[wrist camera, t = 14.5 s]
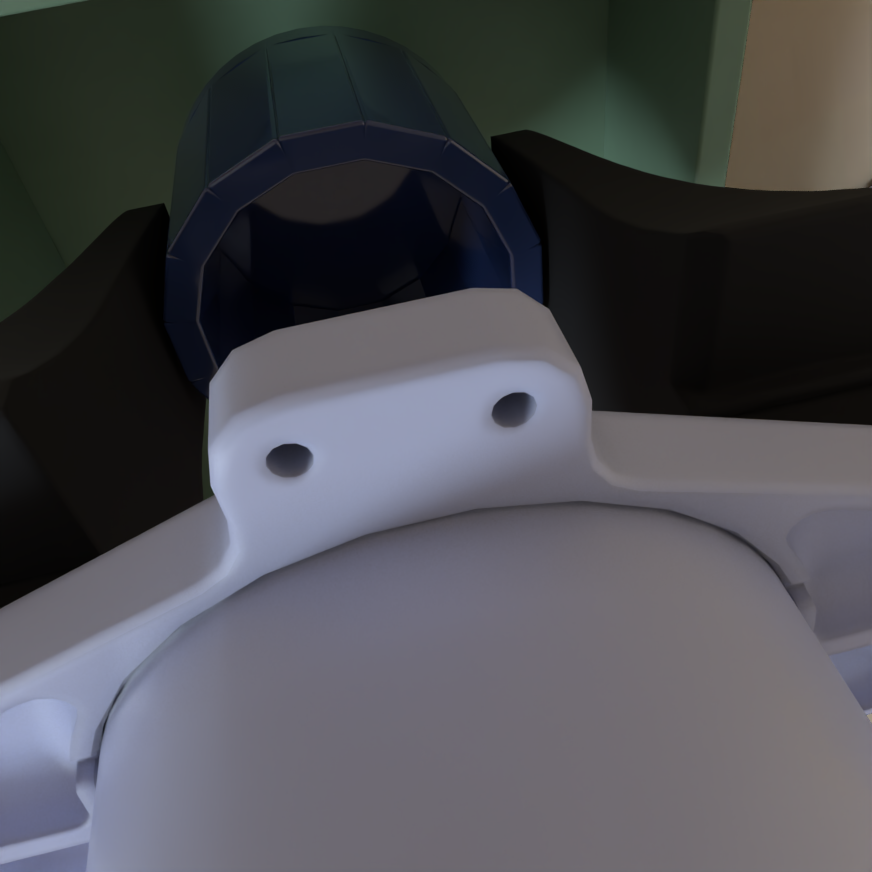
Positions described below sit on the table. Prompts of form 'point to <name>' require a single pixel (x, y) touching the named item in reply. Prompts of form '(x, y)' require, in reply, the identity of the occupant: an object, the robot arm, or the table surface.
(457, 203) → the navy cup
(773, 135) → the table surface
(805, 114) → the table surface
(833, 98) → the table surface
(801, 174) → the table surface
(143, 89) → the sage tub
